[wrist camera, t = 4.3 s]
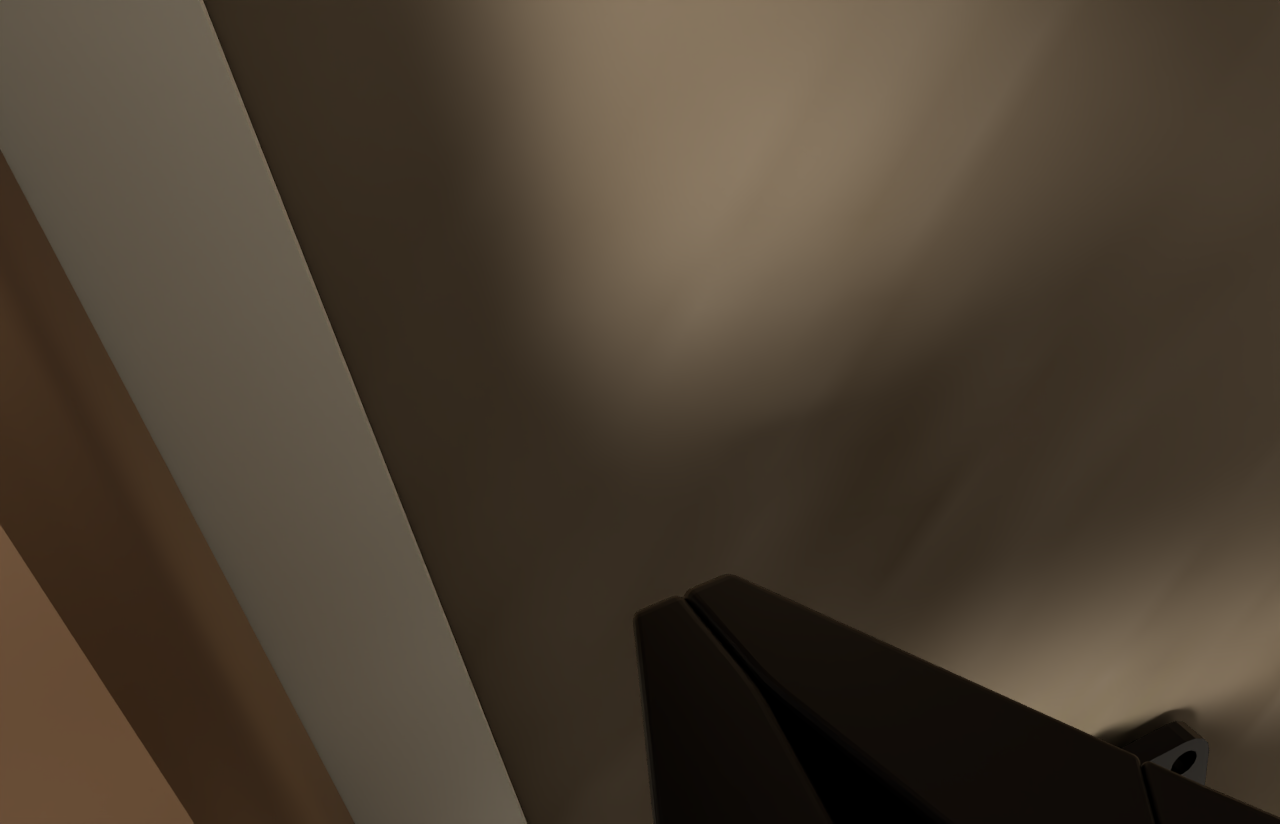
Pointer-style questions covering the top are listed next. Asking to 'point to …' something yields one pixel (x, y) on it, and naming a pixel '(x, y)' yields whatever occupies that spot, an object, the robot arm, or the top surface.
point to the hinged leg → (118, 598)
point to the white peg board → (245, 389)
